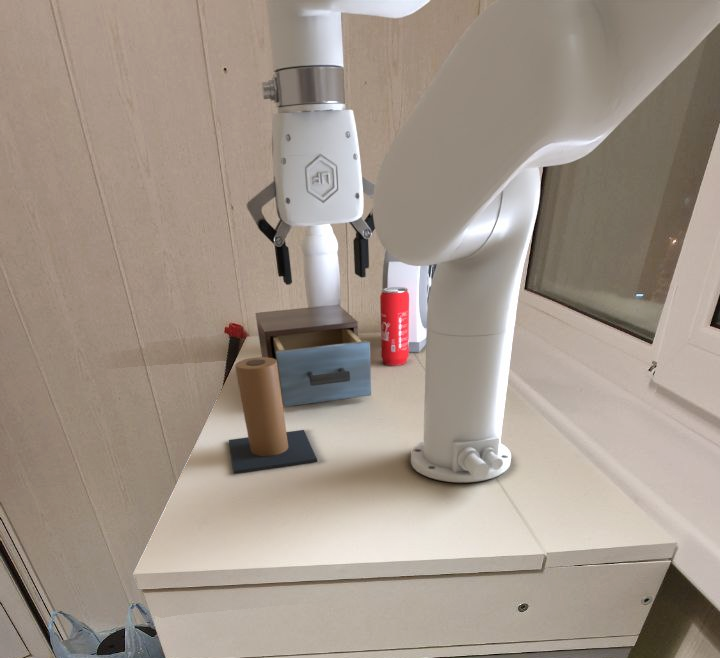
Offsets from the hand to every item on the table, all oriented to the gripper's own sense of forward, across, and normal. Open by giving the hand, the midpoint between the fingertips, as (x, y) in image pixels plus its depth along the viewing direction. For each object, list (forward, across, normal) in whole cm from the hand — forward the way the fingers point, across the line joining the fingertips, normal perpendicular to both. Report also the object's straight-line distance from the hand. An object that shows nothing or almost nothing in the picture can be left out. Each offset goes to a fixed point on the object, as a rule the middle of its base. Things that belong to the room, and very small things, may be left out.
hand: (324, 279), depth 72 cm
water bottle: (+19, +8, +44) cm, 48 cm away
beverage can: (+19, +18, +27) cm, 37 cm away
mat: (+18, -11, -8) cm, 23 cm away
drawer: (+17, +1, +12) cm, 21 cm away
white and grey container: (+19, +25, +38) cm, 49 cm away
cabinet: (+18, +1, +25) cm, 31 cm away
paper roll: (+18, -11, -8) cm, 22 cm away
